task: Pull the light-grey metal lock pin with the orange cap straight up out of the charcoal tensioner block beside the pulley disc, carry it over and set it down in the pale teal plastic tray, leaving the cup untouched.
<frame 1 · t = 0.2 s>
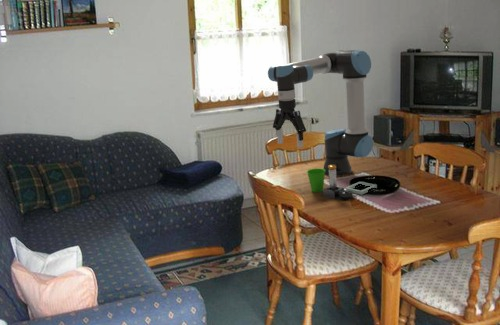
hand: (290, 145, 271), 28 cm above the table, fingers open, 13 cm apart
tray: (360, 191, 285), on the table
tensioner: (333, 196, 281), on the table
pin: (333, 194, 281), point 1 cm above the table, touching tensioner
cup: (317, 192, 290), on the table
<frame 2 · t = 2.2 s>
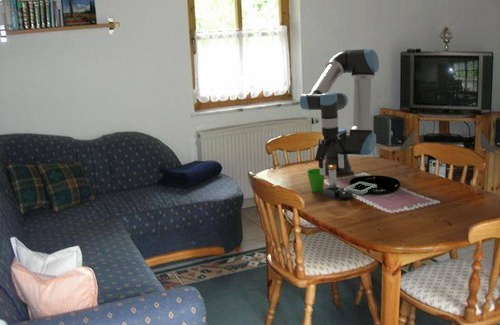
hand: (332, 171, 278), 13 cm above the table, fingers open, 13 cm apart
nothing on the table moved.
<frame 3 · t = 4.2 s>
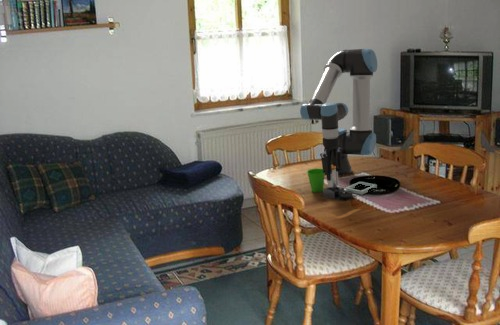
hand: (333, 185, 280), 6 cm above the table, fingers closed on pin, 3 cm apart
pin: (333, 194, 281), point 1 cm above the table, touching gripper
everything else where it was.
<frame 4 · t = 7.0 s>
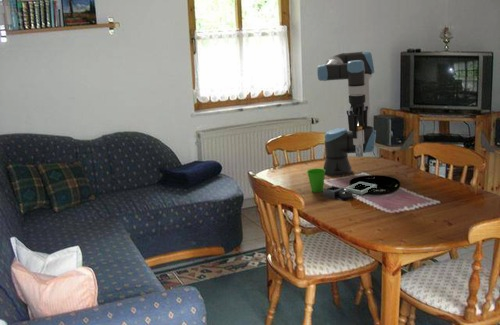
hand: (358, 143, 279), 24 cm above the table, fingers closed on pin, 3 cm apart
pin: (359, 155, 281), point 18 cm above the table, touching gripper
everything else where it was.
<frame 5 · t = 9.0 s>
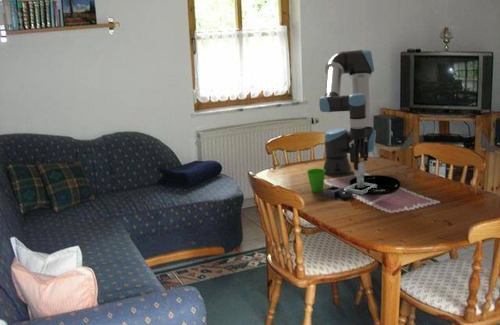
hand: (360, 174, 283), 8 cm above the table, fingers closed on pin, 3 cm apart
pin: (360, 186, 285), point 2 cm above the table, touching gripper
everything else where it was.
when the fingers open (6 cm above the table, at t = 10.1 s): pin stays where it is, resting on tray.
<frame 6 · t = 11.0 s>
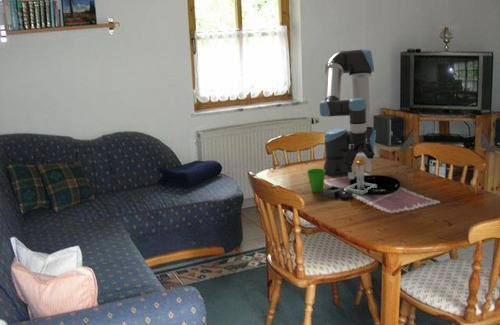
hand: (360, 175, 283), 8 cm above the table, fingers open, 13 cm apart
pin: (360, 189, 285), point 1 cm above the table, touching tray
everything else where it was.
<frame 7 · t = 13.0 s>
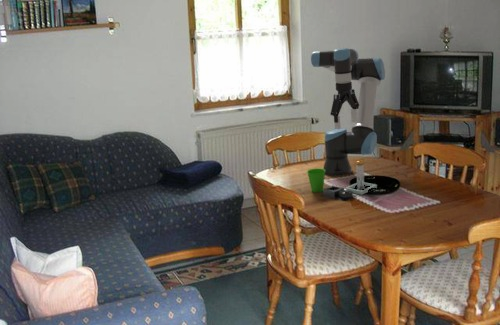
hand: (346, 125, 286), 31 cm above the table, fingers open, 13 cm apart
nothing on the table moved.
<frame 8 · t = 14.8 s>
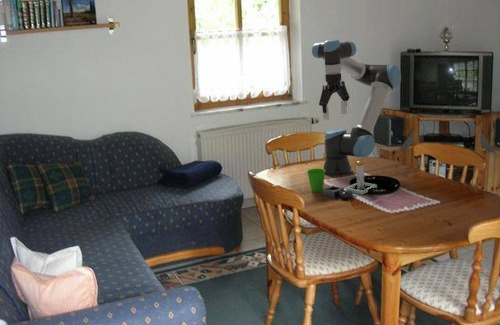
hand: (335, 116, 290), 35 cm above the table, fingers open, 13 cm apart
nothing on the table moved.
at the end: pin inside the target area on the tray (0.1 cm from its centre), point 0.8 cm above the tray's base; the gripper is holding nothing; pin touching tray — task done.
